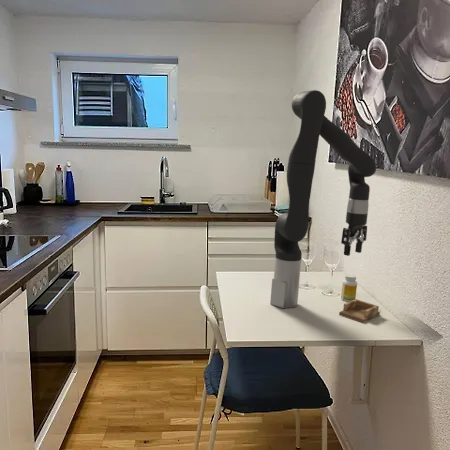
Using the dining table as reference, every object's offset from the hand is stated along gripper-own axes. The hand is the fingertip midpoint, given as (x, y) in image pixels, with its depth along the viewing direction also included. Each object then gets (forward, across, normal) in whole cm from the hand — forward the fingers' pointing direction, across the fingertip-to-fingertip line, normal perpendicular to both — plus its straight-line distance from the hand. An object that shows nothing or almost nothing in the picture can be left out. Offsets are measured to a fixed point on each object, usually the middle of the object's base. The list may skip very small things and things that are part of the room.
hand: (352, 253), depth 177 cm
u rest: (+18, -11, -11) cm, 24 cm away
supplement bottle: (+18, 0, 0) cm, 18 cm away
